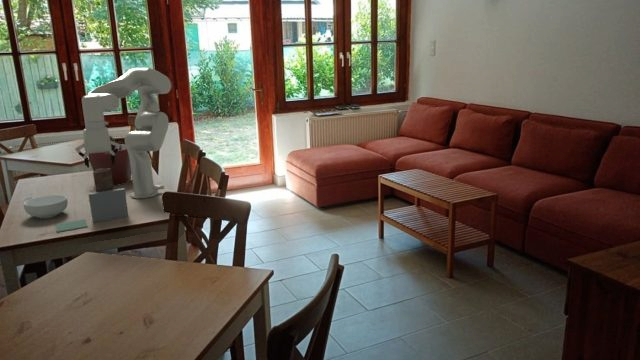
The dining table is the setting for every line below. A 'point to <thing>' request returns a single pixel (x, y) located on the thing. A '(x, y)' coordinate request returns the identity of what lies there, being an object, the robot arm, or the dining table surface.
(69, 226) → the mat
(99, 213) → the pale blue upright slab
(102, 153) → the bucket
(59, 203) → the cereal bowl
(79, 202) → the dining table surface
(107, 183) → the brown textured block
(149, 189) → the robot arm
